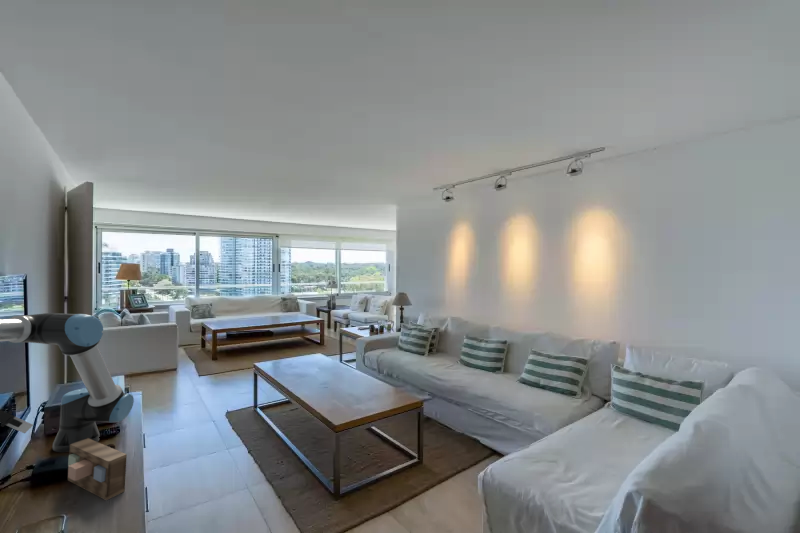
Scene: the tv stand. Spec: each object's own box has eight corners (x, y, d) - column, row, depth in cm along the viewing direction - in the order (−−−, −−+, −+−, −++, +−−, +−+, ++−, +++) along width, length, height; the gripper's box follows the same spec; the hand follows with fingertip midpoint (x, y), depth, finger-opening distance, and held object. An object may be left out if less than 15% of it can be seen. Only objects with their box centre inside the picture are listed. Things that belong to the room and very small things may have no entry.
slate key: (93, 478, 122) (94, 466, 122) (110, 471, 127) (110, 460, 127) (101, 482, 120) (101, 470, 120) (117, 475, 125) (118, 463, 125)
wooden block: (67, 480, 130) (69, 444, 130) (85, 472, 135) (88, 438, 135) (106, 500, 121) (108, 461, 121) (124, 491, 126) (126, 454, 126)
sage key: (68, 466, 129) (68, 455, 129) (84, 459, 133) (85, 449, 133) (74, 469, 127) (75, 458, 127) (91, 462, 131) (92, 452, 132)
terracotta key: (67, 477, 122) (68, 465, 122) (85, 470, 127) (86, 458, 127) (75, 481, 120) (75, 469, 120) (92, 473, 125) (93, 462, 125)
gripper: (-80, 399, 96) (5, 435, 111) (-60, 409, 91) (26, 446, 106) (-49, 374, 101) (29, 412, 116) (-28, 383, 96) (50, 421, 111)
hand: (27, 428), depth 111 cm, fingers closed
